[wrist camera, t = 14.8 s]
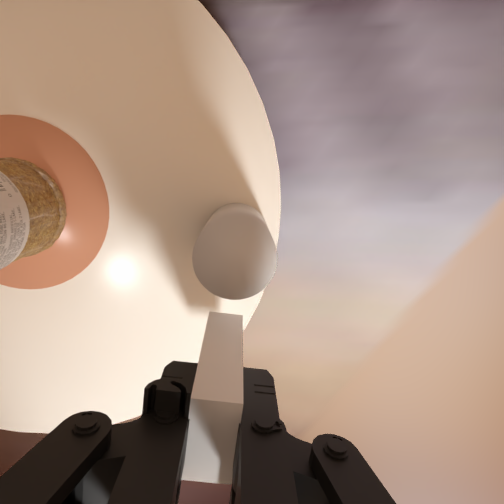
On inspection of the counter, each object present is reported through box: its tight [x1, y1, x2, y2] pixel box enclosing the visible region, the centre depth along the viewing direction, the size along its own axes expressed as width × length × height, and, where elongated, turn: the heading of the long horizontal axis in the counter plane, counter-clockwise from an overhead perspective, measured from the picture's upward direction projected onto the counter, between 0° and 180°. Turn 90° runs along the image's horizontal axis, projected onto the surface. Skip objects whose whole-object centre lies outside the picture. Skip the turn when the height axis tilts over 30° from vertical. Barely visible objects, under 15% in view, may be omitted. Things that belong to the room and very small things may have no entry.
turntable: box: [0, 0, 281, 433], centre depth 17 cm, size 24×24×7 cm
